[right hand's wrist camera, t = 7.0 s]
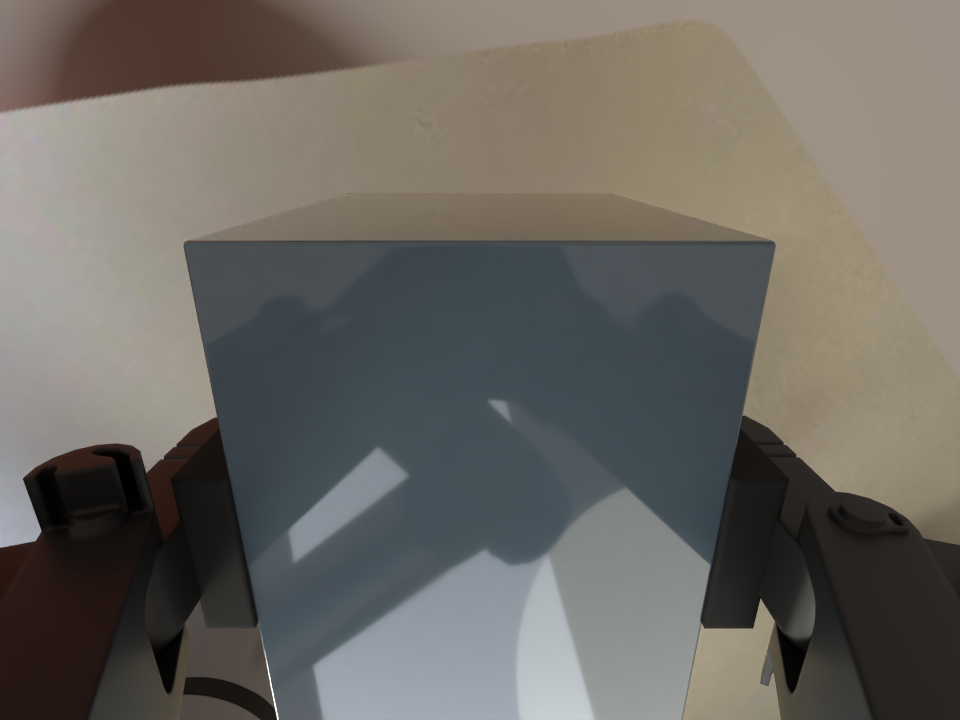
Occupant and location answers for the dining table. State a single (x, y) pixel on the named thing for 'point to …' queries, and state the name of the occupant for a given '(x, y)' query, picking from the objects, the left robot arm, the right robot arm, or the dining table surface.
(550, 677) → the blue gray block
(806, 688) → the right robot arm
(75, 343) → the dining table surface
